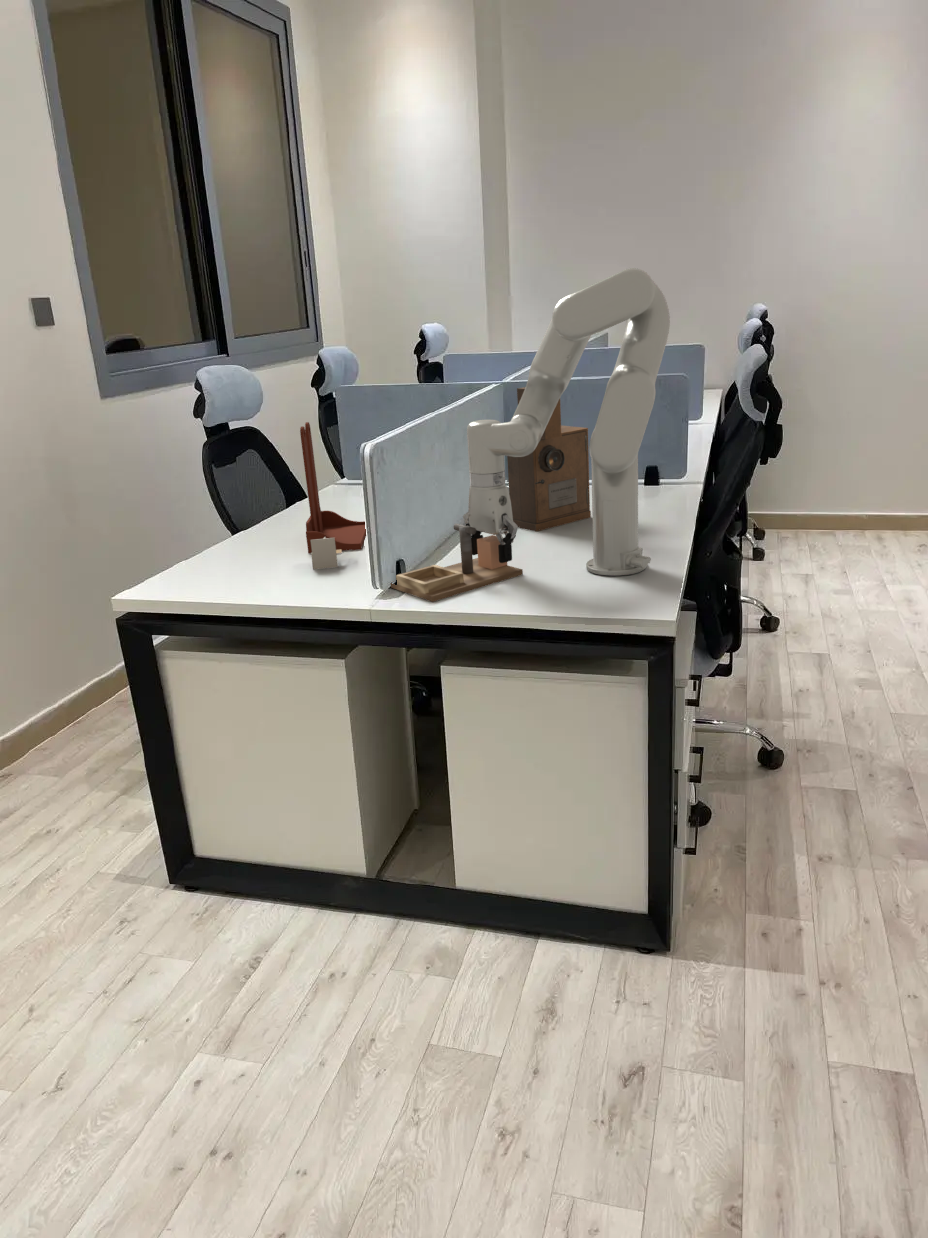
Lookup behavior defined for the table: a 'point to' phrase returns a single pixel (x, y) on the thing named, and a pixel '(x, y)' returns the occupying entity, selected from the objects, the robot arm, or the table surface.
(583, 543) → the table surface
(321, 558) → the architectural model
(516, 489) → the vintage camera
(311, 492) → the red dustpan
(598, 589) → the table surface
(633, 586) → the table surface
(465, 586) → the wooden board with post
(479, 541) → the salmon orange block
